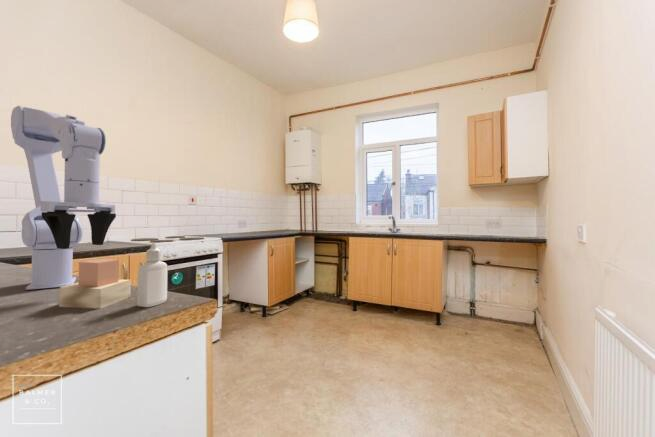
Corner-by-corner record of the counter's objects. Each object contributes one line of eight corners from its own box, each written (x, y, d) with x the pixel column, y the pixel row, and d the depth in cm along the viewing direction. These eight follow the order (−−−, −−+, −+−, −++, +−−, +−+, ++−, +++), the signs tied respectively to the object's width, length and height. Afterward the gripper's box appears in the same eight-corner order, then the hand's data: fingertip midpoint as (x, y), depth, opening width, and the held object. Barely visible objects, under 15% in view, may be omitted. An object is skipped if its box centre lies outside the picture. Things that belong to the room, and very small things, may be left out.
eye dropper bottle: (171, 303, 60) (173, 243, 60) (139, 309, 56) (141, 244, 56) (163, 298, 63) (165, 241, 63) (133, 304, 59) (134, 243, 59)
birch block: (59, 308, 57) (59, 287, 57) (94, 297, 65) (94, 278, 64) (100, 310, 56) (100, 288, 56) (130, 298, 64) (130, 279, 64)
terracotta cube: (78, 285, 58) (78, 261, 58) (100, 280, 63) (100, 258, 63) (97, 286, 58) (98, 263, 57) (118, 281, 62) (118, 259, 62)
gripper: (63, 177, 56) (62, 251, 56) (126, 185, 70) (126, 244, 70) (31, 177, 57) (30, 249, 57) (100, 185, 72) (99, 243, 72)
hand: (81, 246), depth 64 cm, fingers open, 7 cm apart
